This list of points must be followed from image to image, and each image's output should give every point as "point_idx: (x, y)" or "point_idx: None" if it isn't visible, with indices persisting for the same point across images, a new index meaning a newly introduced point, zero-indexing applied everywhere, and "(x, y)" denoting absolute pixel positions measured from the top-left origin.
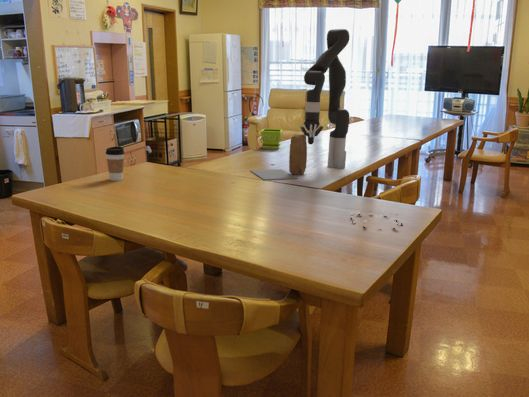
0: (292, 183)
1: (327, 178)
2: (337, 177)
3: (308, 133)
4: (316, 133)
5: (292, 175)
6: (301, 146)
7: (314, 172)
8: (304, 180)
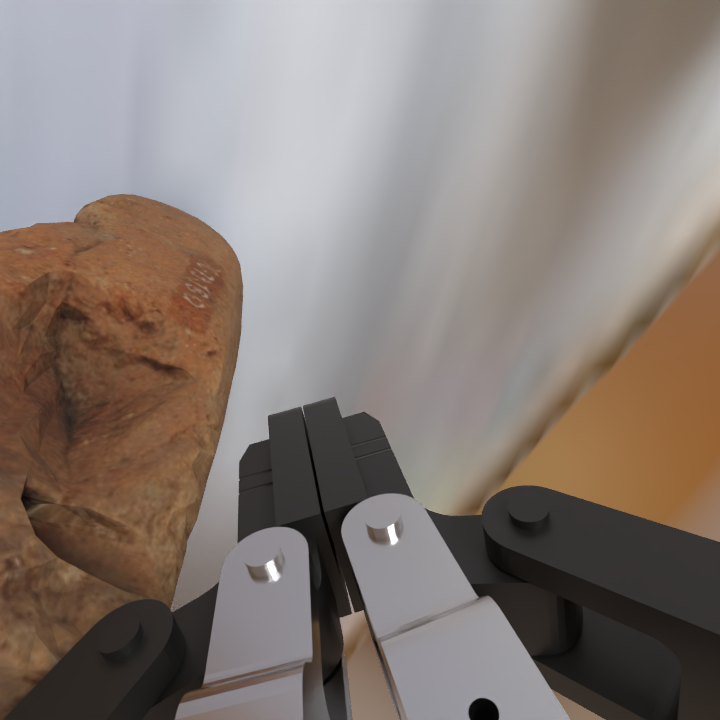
0: None
1: (407, 455)
2: (506, 409)
3: (249, 667)
4: (556, 690)
5: None
6: None
7: (354, 202)
8: (188, 550)
